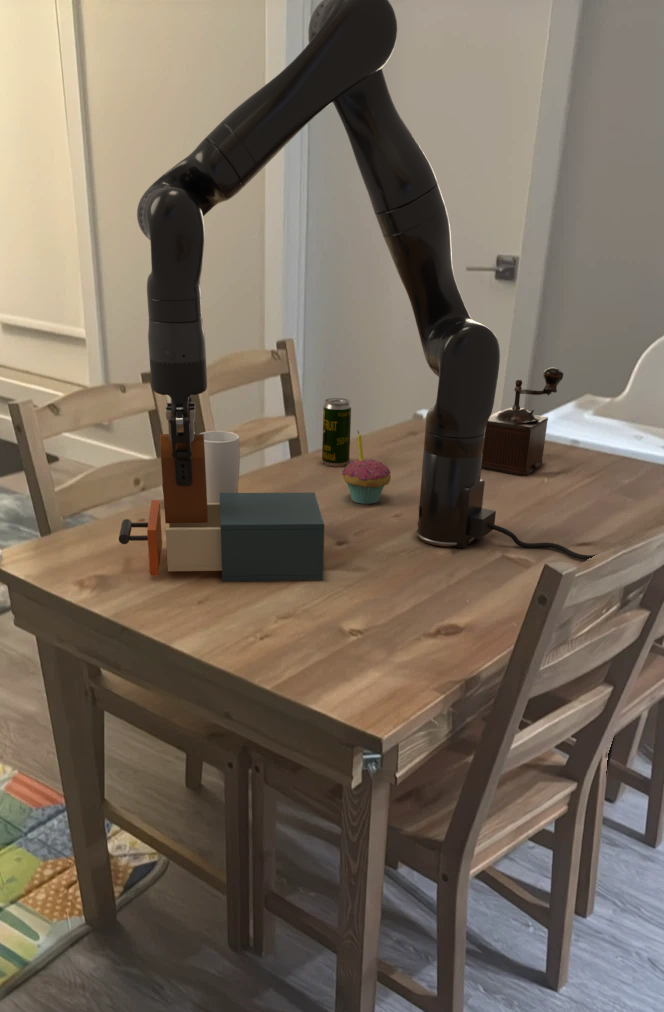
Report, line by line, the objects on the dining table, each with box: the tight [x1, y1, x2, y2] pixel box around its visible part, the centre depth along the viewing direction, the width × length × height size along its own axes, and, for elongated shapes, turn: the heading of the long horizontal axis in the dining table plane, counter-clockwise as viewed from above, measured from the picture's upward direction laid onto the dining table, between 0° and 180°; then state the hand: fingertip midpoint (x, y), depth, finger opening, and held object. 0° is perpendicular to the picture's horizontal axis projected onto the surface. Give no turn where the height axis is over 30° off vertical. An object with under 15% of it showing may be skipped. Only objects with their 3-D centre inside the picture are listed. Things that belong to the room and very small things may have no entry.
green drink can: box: [321, 397, 352, 468], centre depth 192 cm, size 5×5×12 cm
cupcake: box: [341, 429, 392, 505], centre depth 173 cm, size 9×8×12 cm
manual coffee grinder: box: [481, 366, 564, 477], centre depth 194 cm, size 16×11×18 cm
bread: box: [159, 433, 208, 524], centre depth 141 cm, size 6×5×12 cm
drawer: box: [118, 499, 222, 576], centre depth 145 cm, size 18×13×7 cm
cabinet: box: [220, 491, 325, 583], centre depth 147 cm, size 15×14×9 cm
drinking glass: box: [199, 430, 241, 503], centre depth 157 cm, size 7×7×15 cm
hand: (184, 478), depth 141 cm, fingers closed on bread, 5 cm apart
